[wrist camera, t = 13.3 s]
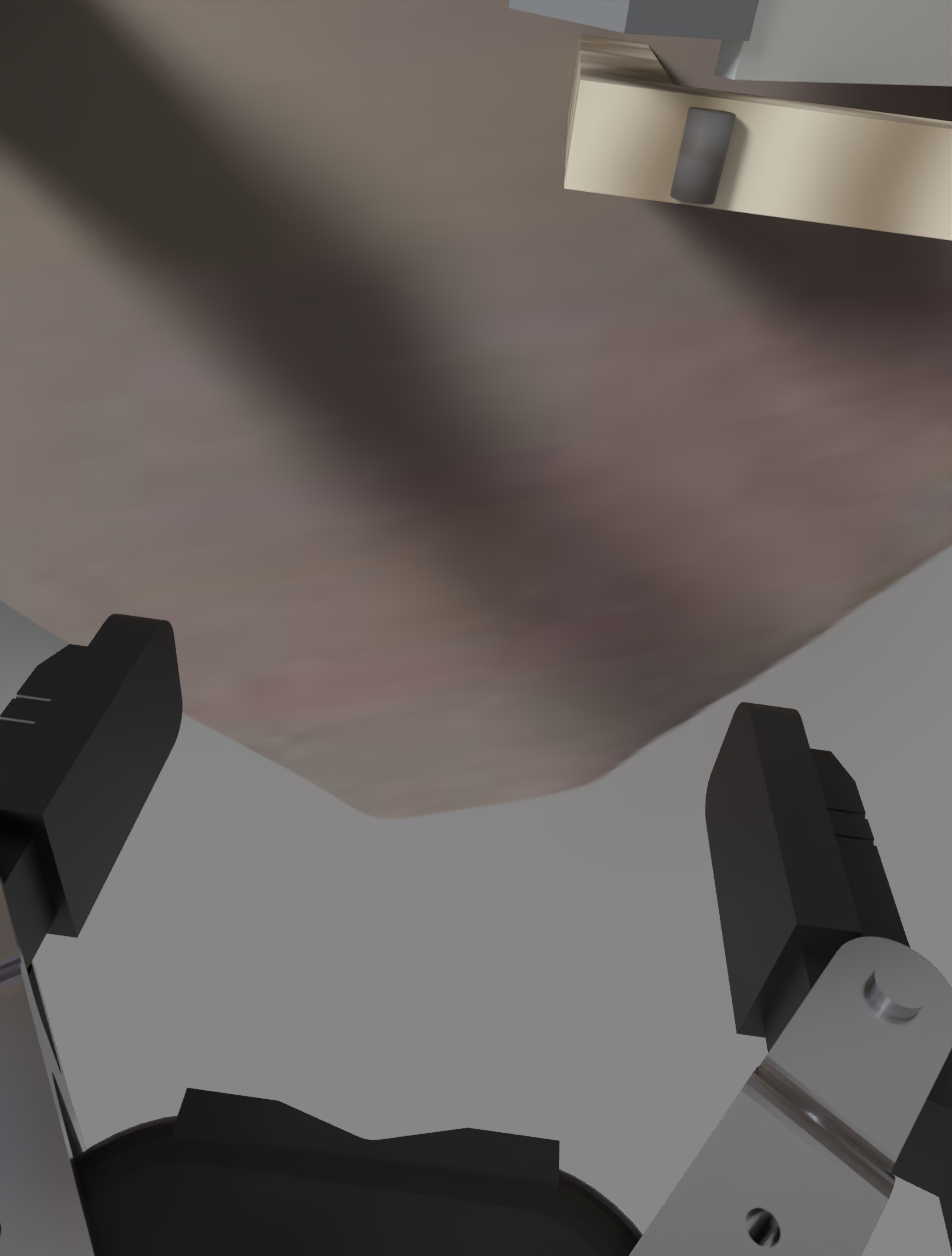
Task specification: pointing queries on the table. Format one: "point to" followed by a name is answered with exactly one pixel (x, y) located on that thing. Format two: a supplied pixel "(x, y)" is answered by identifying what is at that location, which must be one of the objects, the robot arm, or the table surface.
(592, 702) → the table surface
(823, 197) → the stand
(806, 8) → the grey flat block
